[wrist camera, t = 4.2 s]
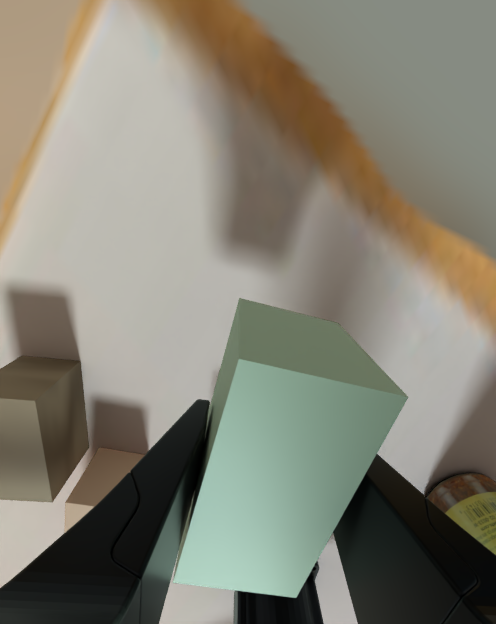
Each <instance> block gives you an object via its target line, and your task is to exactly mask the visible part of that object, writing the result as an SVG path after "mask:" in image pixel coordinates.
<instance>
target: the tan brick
mask: <svg viewBox="0 0 496 624" xmlns="http://www.w3.org/2000/svg"><path fill="white" fill-rule="evenodd" d="M144 456H145V455H144V454H138V453H131V452H125V451H119V450H113V449H106V448H100V447H99V449H98V450H97V452H96V454H95V455H94V457H93V459H92V460H91V462H90V463H89V465H88V467H87V468H86V470H85V472H84V473H83V475H82V476H81V478H80V480H79V481H78V483H77V485H76V486H75V488H74V489H73V491H72V493H71V494H70V496H69V498H68V499H67V501H66V502H65V530H64V533H65V532H67V531H68V530H69V529H70V528H71V527H72V526H73V525H75V524H76V523H77V522H78V521H79V520H80V519H81V518H82V517H83V516H85V515H86V514H87V513H88V512H89V511H90V510H91V509H92V508H93V507H94V506H96V505H97V504H98V503H99V502H100V501H101V500H102V499H103V498H104V497H105V496H106V495H107V494H108V493H109V492H110V491H111V490H112V489H113V488H114V487H115V486H116V485H117V484H118V483H119V482H120V481H121V480H122V479H123V478H124V477H125V475H126V474H127V473H129V472H130V470H131V469H132V468H133V467H134V466H135V465H136V464H137V463H138V462H139V461H140V460H141V459H142V458H143V457H144Z"/></svg>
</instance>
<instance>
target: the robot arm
mask: <svg viewBox="0 0 496 624" xmlns="http://www.w3.org/2000/svg"><path fill="white" fill-rule="evenodd" d="M209 405H210V402H209V401H208V400H201V399H198V400H196V401H195V403H194V404H193V405H192V406H191V407H190V408H189V409H188V410H187V411H186V412H185V413H184V414H183V415H182V416H181V417H180V418H179V420H178V421H177V422H176V423H175V424H174V425H173V426H172V427H171V428H170V429H169V430H168V431H167V432H166V433H165V434H164V435H163V436H162V438H161V439H160V440H159V441H158V442H157V443H156V444H155V445H154V446H153V447H152V448H151V449H150V450H149V451H148V452H147V453H146V454H145V456H144V457H143V458H142V459H141V460H140V461H139V462H138V463H137V464H136V465H135V466H134V467H133V468H132V469H131V470H130V472H129V473H127V474H126V475H125V477H124V478H123V479H122V480H121V481H120V482H119V483H118V484H117V485H116V486H115V487H114V488H113V489H112V490H111V491H110V492H109V493H108V494H107V495H106V496H105V497H104V498H103V499H102V500H101V501H100V502H99V503H98V504H97V505H96V506H94V507H93V508H92V509H91V510H90V511H89V512H88V513H87V514H86V515H85V516H83V517H82V518H81V519H80V520H79V521H78V522H77V523H76V524H75V525H73V526H72V527H71V528H70V529H69V530H68V531H67V532H65V533H64V534H63V535H62V536H61V537H60V538H59V539H57V540H56V541H55V542H54V543H53V544H52V545H51V546H49V547H48V548H47V549H46V550H45V551H44V552H43V553H41V554H40V555H39V556H38V557H37V558H36V559H35V560H33V561H32V562H31V563H30V564H29V565H28V566H27V567H25V568H24V569H23V570H22V571H21V572H20V573H19V574H17V575H16V576H15V577H14V578H13V579H11V580H10V581H9V582H8V583H6V584H5V585H4V586H2V587H1V588H0V624H159V621H160V617H161V613H162V610H163V606H164V602H165V599H166V595H167V591H168V587H169V584H170V580H171V576H172V573H173V569H174V565H175V562H176V558H177V554H178V551H179V547H180V543H181V540H182V536H183V532H184V529H185V525H186V521H187V518H188V514H189V510H190V507H191V503H192V499H193V496H194V492H195V488H196V483H197V479H198V474H199V470H200V465H201V459H202V453H203V447H204V441H205V434H206V427H207V420H208V413H209ZM333 533H334V537H335V541H336V544H337V548H338V552H339V555H340V559H341V563H342V567H343V570H344V574H345V578H346V581H347V585H348V589H349V592H350V596H351V600H352V603H353V607H354V611H355V614H356V618H357V622H358V624H496V555H495V554H494V553H493V552H491V551H490V550H489V549H488V548H486V547H485V546H484V545H483V544H481V543H480V542H479V541H478V540H476V539H475V538H474V537H473V536H471V535H470V534H469V533H468V532H467V531H465V530H464V529H463V528H462V527H460V526H459V525H458V524H457V523H456V522H455V521H453V520H452V519H451V518H450V517H449V516H448V515H446V514H445V513H444V512H443V511H442V510H440V509H439V508H438V507H437V506H436V505H435V504H434V503H433V502H431V501H430V500H429V499H428V498H425V496H424V495H423V494H422V493H421V492H420V491H419V490H418V489H416V488H415V487H414V486H413V485H412V484H411V483H410V482H408V481H407V480H406V479H405V478H404V477H403V476H402V475H400V474H399V473H398V472H397V471H396V470H395V469H394V468H392V467H391V466H390V465H389V464H388V463H387V462H386V461H384V460H383V459H382V458H381V457H380V456H379V455H378V454H376V456H375V458H374V459H373V461H372V463H371V465H370V467H369V468H368V470H367V472H366V474H365V476H364V477H363V479H362V481H361V483H360V484H359V486H358V488H357V490H356V492H355V493H354V495H353V497H352V499H351V501H350V502H349V504H348V506H347V508H346V510H345V511H344V513H343V515H342V517H341V518H340V520H339V522H338V524H337V526H336V527H335V529H334V531H333ZM318 571H319V565H318V562H317V561H316V563H315V565H314V567H313V569H312V570H311V572H310V574H309V576H308V578H307V579H306V581H305V583H304V585H303V587H302V588H301V590H300V592H299V594H298V595H297V597H296V598H293V597H285V596H276V595H268V594H260V593H252V592H244V591H236V590H235V592H234V624H324V623H323V619H322V614H321V609H320V604H319V599H318V594H317V590H316V585H315V578H316V576H317V573H318Z"/></svg>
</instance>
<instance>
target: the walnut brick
mask: <svg viewBox="0 0 496 624" xmlns="http://www.w3.org/2000/svg"><path fill="white" fill-rule="evenodd" d="M88 448H89V442H88V432H87V422H86V412H85V402H84V392H83V381H82V371H81V361H74V360H63V359H52V358H41V357H29V356H21V357H19V358H17V359H16V360H14V361H13V362H11V363H9V364H8V365H6V366H4V367H3V368H1V369H0V499H1V500H19V501H37V502H53V501H54V499H55V498H56V496H57V495H58V493H59V492H60V490H61V489H62V487H63V486H64V484H65V483H66V481H67V480H68V478H69V477H70V475H71V474H72V472H73V471H74V469H75V468H76V466H77V465H78V463H79V462H80V460H81V459H82V457H83V456H84V454H85V453H86V451H87V450H88Z"/></svg>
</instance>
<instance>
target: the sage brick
mask: <svg viewBox="0 0 496 624" xmlns="http://www.w3.org/2000/svg"><path fill="white" fill-rule="evenodd" d="M407 399H408V396H407V395H406V394H405V393H404V392H403V391H402V390H401V389H400V388H399V387H398V386H397V385H396V384H395V383H394V382H393V381H392V380H391V378H390V377H389V376H388V375H387V374H386V373H385V372H384V371H383V370H382V369H381V368H380V367H379V366H378V365H377V364H376V363H375V362H374V361H373V359H372V358H371V357H370V356H369V355H368V354H367V353H366V352H365V351H364V350H363V349H362V348H361V347H360V346H359V345H358V344H357V343H356V342H355V340H354V339H353V338H352V337H351V336H350V335H349V334H348V333H347V332H346V331H345V330H344V329H343V328H342V327H341V326H340V325H339V324H338V323H335V322H331V321H328V320H324V319H320V318H316V317H312V316H308V315H304V314H300V313H296V312H292V311H288V310H284V309H280V308H276V307H272V306H269V305H265V304H261V303H257V302H253V301H249V300H245V299H241V298H239V302H238V305H237V309H236V313H235V316H234V320H233V324H232V327H231V331H230V335H229V338H228V342H227V346H226V349H225V353H224V357H223V360H222V364H221V368H220V371H219V375H218V379H217V382H216V386H215V390H214V393H213V397H212V401H211V404H210V408H209V413H208V420H207V427H206V434H205V441H204V447H203V453H202V459H201V465H200V470H199V474H198V479H197V483H196V488H195V492H194V496H193V499H192V503H191V507H190V510H189V514H188V518H187V521H186V525H185V529H184V532H183V536H182V540H181V543H180V547H179V553H178V558H177V563H176V569H175V574H174V580H173V583H180V584H188V585H196V586H204V587H212V588H220V589H228V590H236V591H244V592H252V593H260V594H268V595H276V596H285V597H293V598H296V597H297V595H298V594H299V592H300V590H301V588H302V587H303V585H304V583H305V581H306V579H307V578H308V576H309V574H310V572H311V570H312V569H313V567H314V565H315V563H316V561H317V560H318V558H319V556H320V554H321V553H322V551H323V549H324V547H325V545H326V544H327V542H328V540H329V538H330V536H331V535H332V533H333V531H334V529H335V527H336V526H337V524H338V522H339V520H340V518H341V517H342V515H343V513H344V511H345V510H346V508H347V506H348V504H349V502H350V501H351V499H352V497H353V495H354V493H355V492H356V490H357V488H358V486H359V484H360V483H361V481H362V479H363V477H364V476H365V474H366V472H367V470H368V468H369V467H370V465H371V463H372V461H373V459H374V458H375V456H376V454H377V452H378V450H379V449H380V447H381V445H382V443H383V442H384V440H385V438H386V436H387V434H388V433H389V431H390V429H391V427H392V425H393V424H394V422H395V420H396V418H397V416H398V415H399V413H400V411H401V409H402V407H403V406H404V404H405V402H406V400H407Z"/></svg>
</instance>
